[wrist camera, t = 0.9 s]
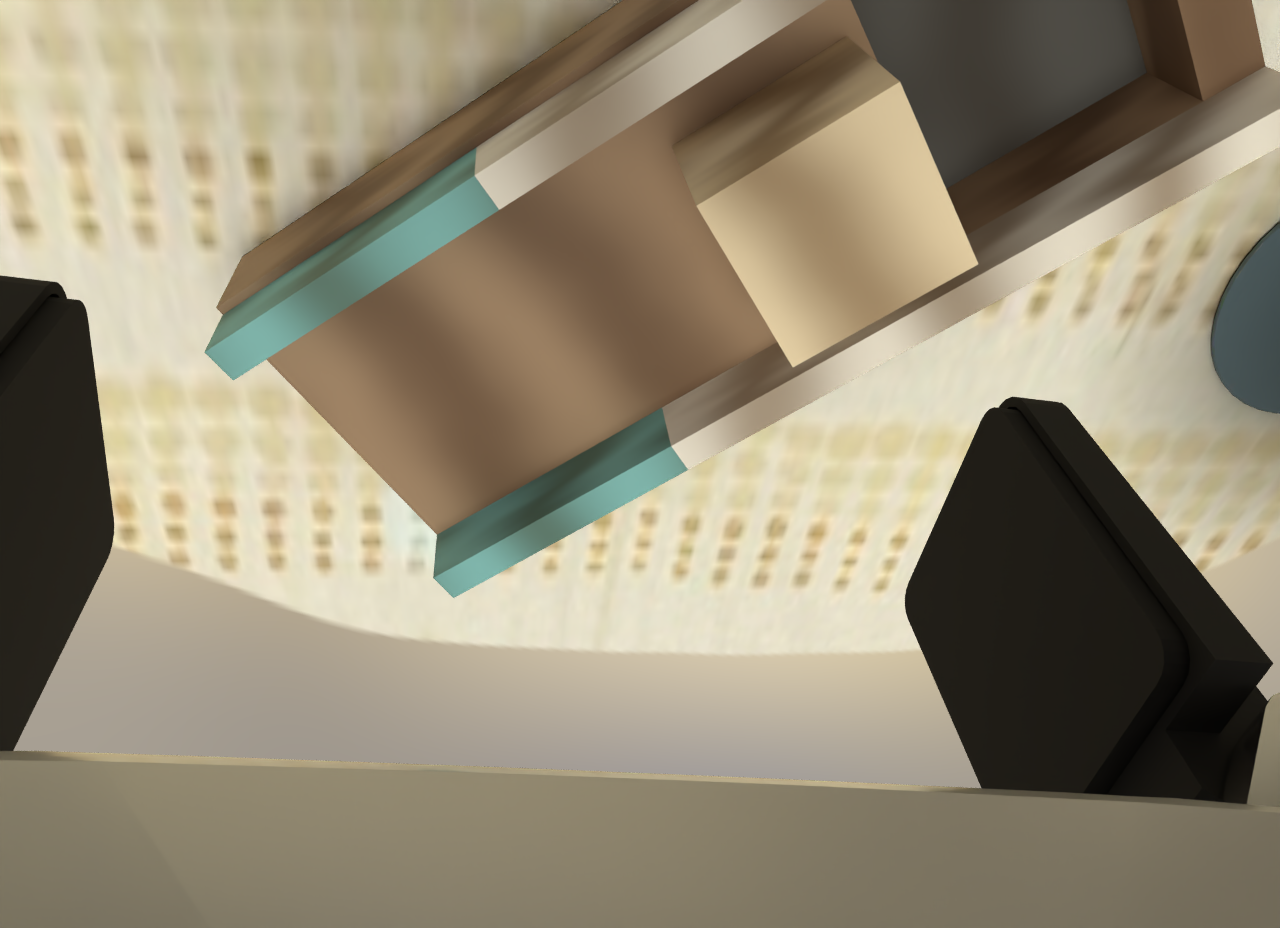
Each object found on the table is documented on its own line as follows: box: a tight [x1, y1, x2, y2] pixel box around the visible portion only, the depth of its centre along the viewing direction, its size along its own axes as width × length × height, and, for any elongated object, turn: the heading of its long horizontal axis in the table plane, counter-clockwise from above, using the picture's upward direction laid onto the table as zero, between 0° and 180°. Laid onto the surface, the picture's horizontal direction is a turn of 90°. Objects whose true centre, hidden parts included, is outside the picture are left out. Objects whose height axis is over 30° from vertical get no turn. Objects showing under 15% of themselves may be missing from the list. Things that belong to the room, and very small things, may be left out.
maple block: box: [672, 36, 978, 367], centre depth 30 cm, size 6×6×5 cm
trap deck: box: [205, 0, 1280, 598], centre depth 34 cm, size 32×13×6 cm, turn 121°
